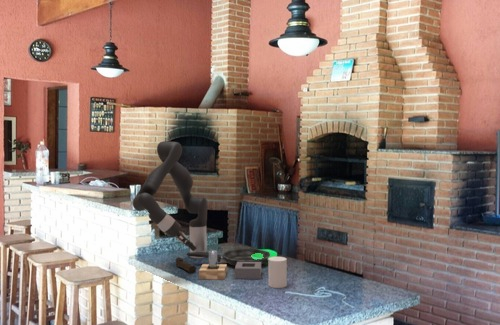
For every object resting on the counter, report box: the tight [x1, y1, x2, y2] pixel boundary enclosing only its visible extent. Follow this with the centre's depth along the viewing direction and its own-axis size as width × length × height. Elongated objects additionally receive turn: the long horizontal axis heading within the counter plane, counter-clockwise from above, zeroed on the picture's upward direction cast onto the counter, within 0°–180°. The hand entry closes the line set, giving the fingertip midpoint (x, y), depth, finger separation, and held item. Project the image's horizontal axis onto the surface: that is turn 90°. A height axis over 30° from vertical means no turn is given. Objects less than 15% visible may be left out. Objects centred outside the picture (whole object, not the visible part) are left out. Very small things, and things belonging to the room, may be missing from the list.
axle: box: [208, 249, 218, 269], centre depth 243 cm, size 4×4×12 cm
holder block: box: [234, 262, 262, 280], centre depth 243 cm, size 12×12×5 cm
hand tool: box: [175, 256, 197, 275], centre depth 255 cm, size 19×4×5 cm, turn 30°
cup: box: [267, 256, 288, 289], centre depth 227 cm, size 8×8×12 cm
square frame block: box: [198, 263, 228, 280], centre depth 243 cm, size 12×12×4 cm
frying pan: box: [186, 248, 271, 267], centre depth 264 cm, size 44×25×7 cm, turn 95°
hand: (193, 247), depth 239 cm, fingers open, 8 cm apart
